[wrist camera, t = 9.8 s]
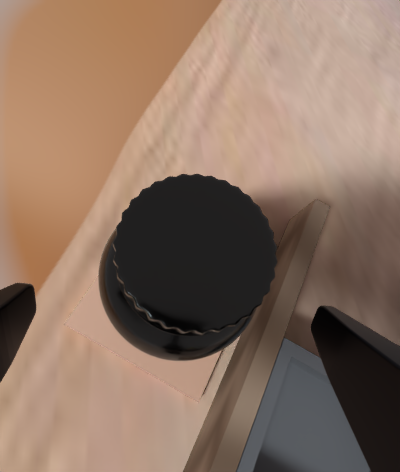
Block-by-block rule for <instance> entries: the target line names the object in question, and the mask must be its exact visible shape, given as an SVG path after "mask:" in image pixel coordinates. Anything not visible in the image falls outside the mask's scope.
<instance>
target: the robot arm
mask: <svg viewBox="0 0 400 472" xmlns="http://www.w3.org/2000/svg"><path fill="white" fill-rule="evenodd" d="M35 313H36V300H35V292H34V287H33V285H31V284H25V283H15V284H13V285H10V286H8V287H6V288H4V289H1V290H0V382H1V381H2V379H3V377H4V376H5V374H6V372H7V371H8V369H9V367H10V365H11V364H12V362H13V360H14V358H15V356H16V353H17V351H18V349H19V347H20V345H21V343H22V341H23V339H24V337H25V334H26V332H27V330H28V328H29V326H30V324H31V322H32V320H33V318H34V315H35ZM311 332H312V335H313V338H314V340H315V343H316V346H317V349H318V352H319V355H320V357H321V360H322V363H323V366H324V369H325V371H326V374H327V377H328V379H329V381H330V383H331V386H332V388H333V390H334V392H335V394H336V397H337V399H338V401H339V403H340V405H341V407H342V410H343V412H344V414H345V416H346V418H347V421H348V423H349V425H350V427H351V429H352V431H353V434H354V436H355V438H356V440H357V442H358V444H359V447H360V449H361V451H362V453H363V455H364V458H365V460H366V462H367V464H368V466H369V468H370V471H371V472H400V346H398V345H396V344H395V343H393V342H391V341H390V340H388V339H386V338H385V337H383V336H381V335H380V334H378V333H376V332H375V331H373V330H371V329H370V328H368V327H366V326H365V325H363V324H361V323H360V322H358V321H356V320H355V319H353V318H351V317H350V316H348V315H346V314H344V313H343V312H341V311H339V310H338V309H336V308H334V307H332V306H320V307H319V308H318V309H317V311H316V314H315V316H314V319H313V321H312V324H311Z"/></svg>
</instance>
